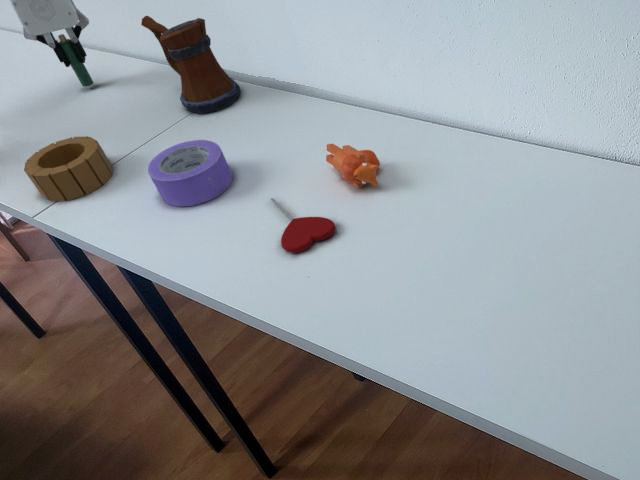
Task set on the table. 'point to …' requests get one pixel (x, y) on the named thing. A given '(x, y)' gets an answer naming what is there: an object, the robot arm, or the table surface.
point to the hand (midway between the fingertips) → (75, 61)
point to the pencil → (75, 61)
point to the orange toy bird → (354, 164)
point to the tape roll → (190, 173)
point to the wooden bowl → (69, 168)
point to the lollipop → (305, 231)
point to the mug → (195, 65)
